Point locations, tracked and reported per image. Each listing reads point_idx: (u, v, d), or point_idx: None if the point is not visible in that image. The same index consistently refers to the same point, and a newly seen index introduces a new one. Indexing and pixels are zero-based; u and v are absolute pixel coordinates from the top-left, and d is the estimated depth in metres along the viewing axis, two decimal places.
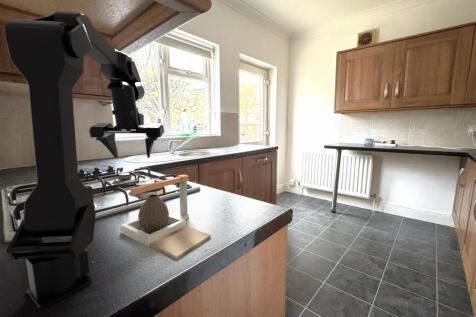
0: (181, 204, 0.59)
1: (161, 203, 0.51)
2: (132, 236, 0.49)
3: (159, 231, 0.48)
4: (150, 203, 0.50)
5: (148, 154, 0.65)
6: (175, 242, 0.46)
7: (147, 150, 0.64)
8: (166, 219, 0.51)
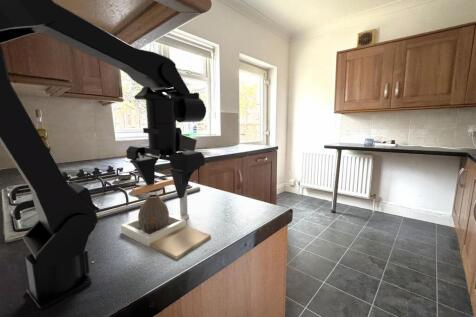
0: (181, 204, 0.59)
1: (161, 203, 0.51)
2: (132, 236, 0.49)
3: (159, 231, 0.48)
4: (150, 203, 0.50)
5: (178, 193, 0.45)
6: (175, 242, 0.46)
7: (176, 187, 0.44)
8: (166, 219, 0.51)
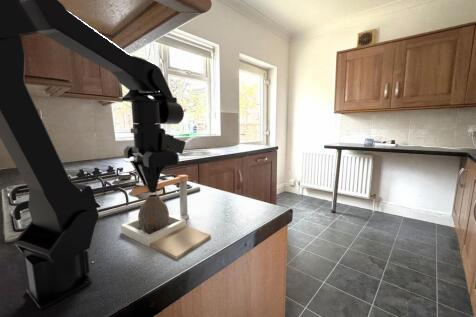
0: (181, 204, 0.59)
1: (161, 203, 0.51)
2: (132, 236, 0.49)
3: (159, 231, 0.48)
4: (150, 203, 0.50)
5: (148, 187, 0.49)
6: (175, 242, 0.46)
7: (145, 181, 0.48)
8: (166, 219, 0.51)
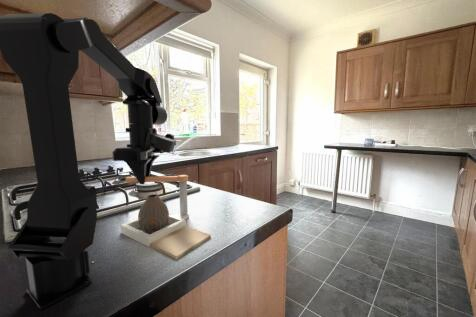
0: (181, 204, 0.59)
1: (161, 203, 0.51)
2: (132, 236, 0.49)
3: (159, 231, 0.48)
4: (150, 203, 0.50)
5: None
6: (175, 242, 0.46)
7: None
8: (166, 219, 0.51)
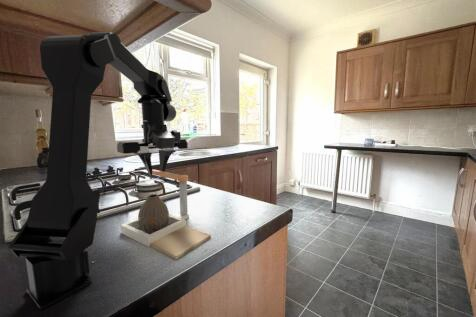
0: (181, 204, 0.59)
1: (161, 203, 0.51)
2: (132, 236, 0.49)
3: (159, 231, 0.48)
4: (150, 203, 0.50)
5: None
6: (175, 242, 0.46)
7: None
8: (166, 219, 0.51)
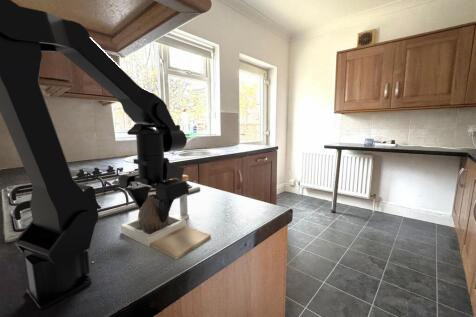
0: (181, 204, 0.59)
1: None
2: (132, 236, 0.49)
3: (159, 231, 0.48)
4: (150, 203, 0.50)
5: (160, 218, 0.49)
6: (175, 242, 0.46)
7: (158, 212, 0.48)
8: None
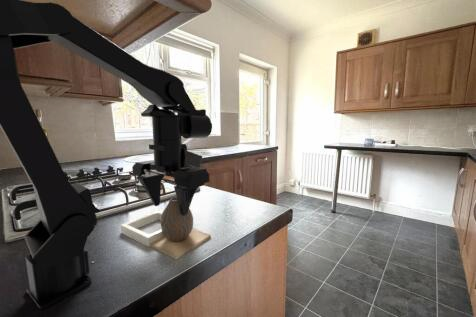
0: None
1: None
2: (132, 236, 0.49)
3: (159, 231, 0.48)
4: (174, 206, 0.45)
5: (181, 210, 0.44)
6: (175, 242, 0.46)
7: (179, 203, 0.43)
8: (191, 224, 0.47)
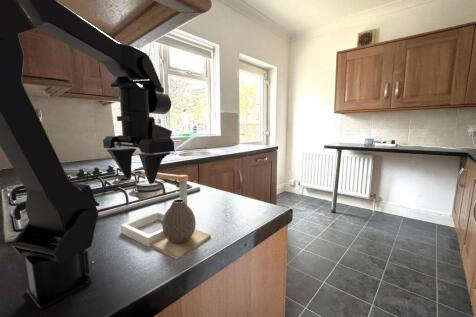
0: None
1: (187, 210, 0.46)
2: (132, 236, 0.49)
3: (159, 231, 0.48)
4: (176, 209, 0.45)
5: (148, 178, 0.47)
6: None
7: (145, 172, 0.46)
8: (192, 228, 0.46)
